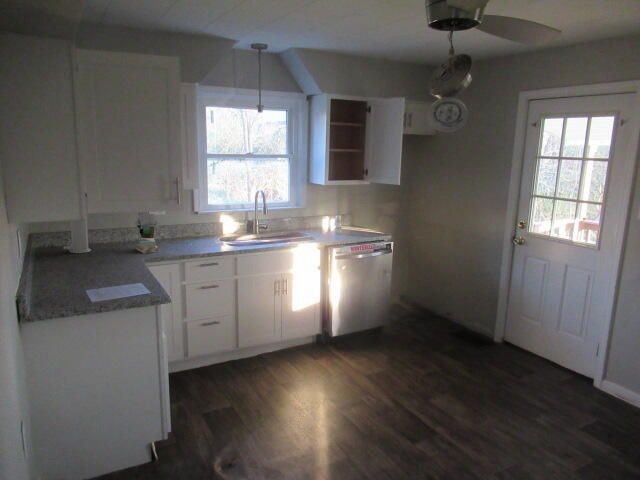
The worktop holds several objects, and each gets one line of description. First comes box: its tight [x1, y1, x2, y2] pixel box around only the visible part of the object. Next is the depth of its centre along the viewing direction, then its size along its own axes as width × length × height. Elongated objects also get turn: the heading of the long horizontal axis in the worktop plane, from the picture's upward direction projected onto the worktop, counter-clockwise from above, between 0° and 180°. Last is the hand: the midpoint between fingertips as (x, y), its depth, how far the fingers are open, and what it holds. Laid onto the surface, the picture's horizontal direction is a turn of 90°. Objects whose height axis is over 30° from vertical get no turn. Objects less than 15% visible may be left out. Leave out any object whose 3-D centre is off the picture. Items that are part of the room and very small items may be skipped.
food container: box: [138, 224, 156, 238], centre depth 318 cm, size 12×6×10 cm, turn 58°
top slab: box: [139, 237, 157, 248], centre depth 320 cm, size 9×13×4 cm
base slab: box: [135, 243, 159, 254], centre depth 320 cm, size 10×14×4 cm
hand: (146, 233), depth 318 cm, fingers closed on food container, 5 cm apart
